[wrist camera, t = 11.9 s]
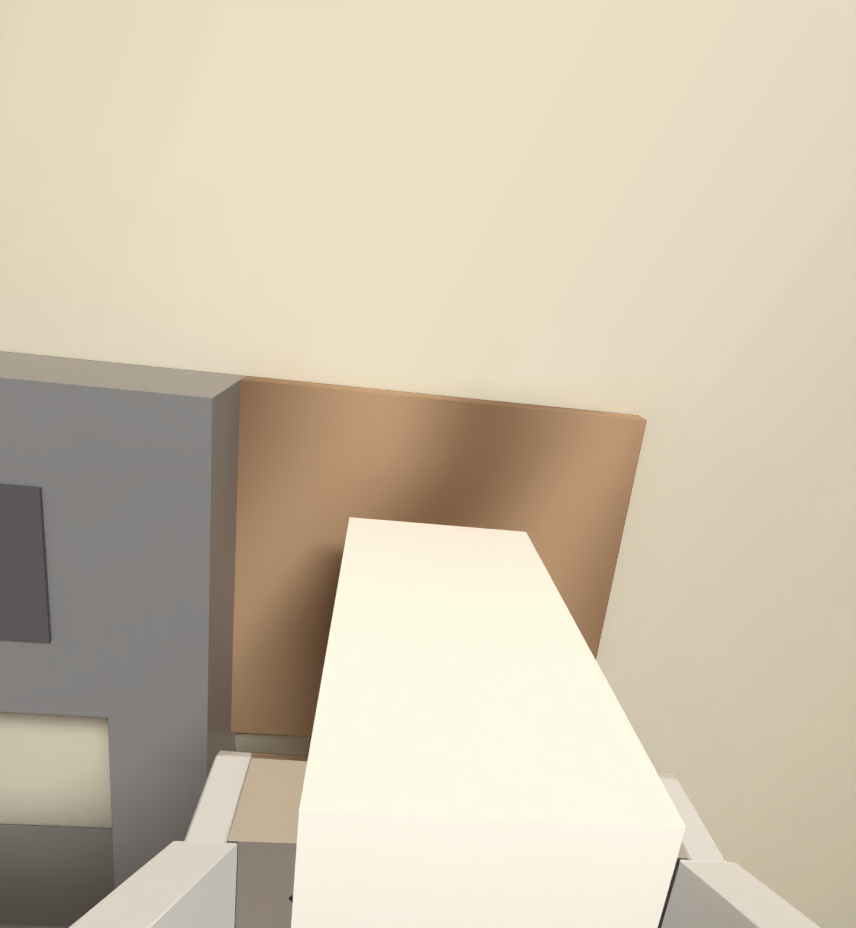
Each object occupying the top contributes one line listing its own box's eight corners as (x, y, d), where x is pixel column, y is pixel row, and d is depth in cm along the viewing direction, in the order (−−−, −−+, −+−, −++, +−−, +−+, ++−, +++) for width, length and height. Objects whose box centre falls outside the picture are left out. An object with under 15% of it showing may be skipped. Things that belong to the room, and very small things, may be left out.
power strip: (245, 376, 15) (204, 402, 12) (227, 1011, 21) (196, 1147, 18) (-191, 332, 15) (-365, 348, 11) (-82, 1006, 21) (-174, 1147, 17)
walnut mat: (637, 415, 16) (646, 420, 16) (570, 736, 19) (576, 751, 18) (245, 376, 15) (240, 379, 15) (236, 717, 18) (230, 732, 18)
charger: (526, 531, 14) (686, 826, 7) (495, 717, 16) (596, 1142, 8) (349, 517, 14) (298, 809, 6) (333, 708, 15) (276, 1143, 8)
